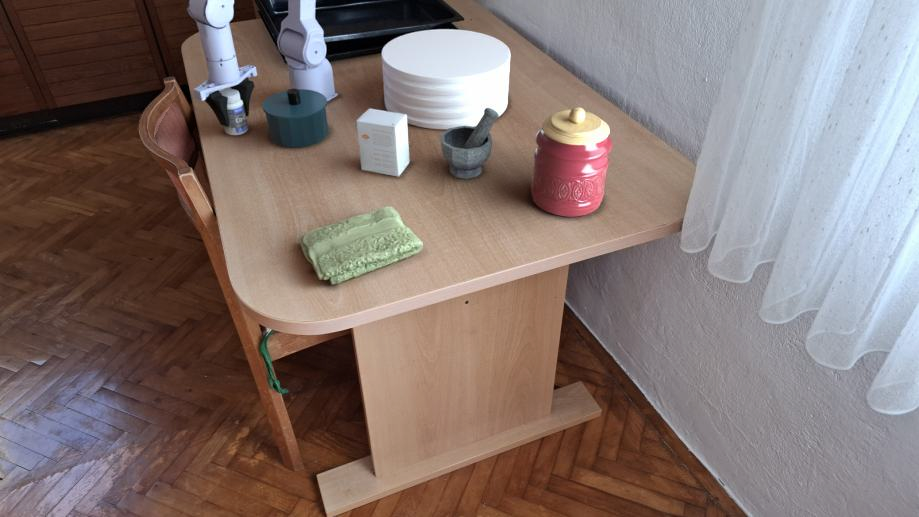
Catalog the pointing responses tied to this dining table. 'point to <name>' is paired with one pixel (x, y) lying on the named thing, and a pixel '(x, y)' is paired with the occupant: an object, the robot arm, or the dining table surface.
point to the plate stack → (445, 77)
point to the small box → (383, 142)
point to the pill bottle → (235, 113)
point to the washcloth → (359, 245)
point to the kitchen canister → (571, 163)
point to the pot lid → (294, 104)
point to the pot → (298, 130)
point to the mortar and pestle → (468, 146)
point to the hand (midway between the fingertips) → (234, 119)
